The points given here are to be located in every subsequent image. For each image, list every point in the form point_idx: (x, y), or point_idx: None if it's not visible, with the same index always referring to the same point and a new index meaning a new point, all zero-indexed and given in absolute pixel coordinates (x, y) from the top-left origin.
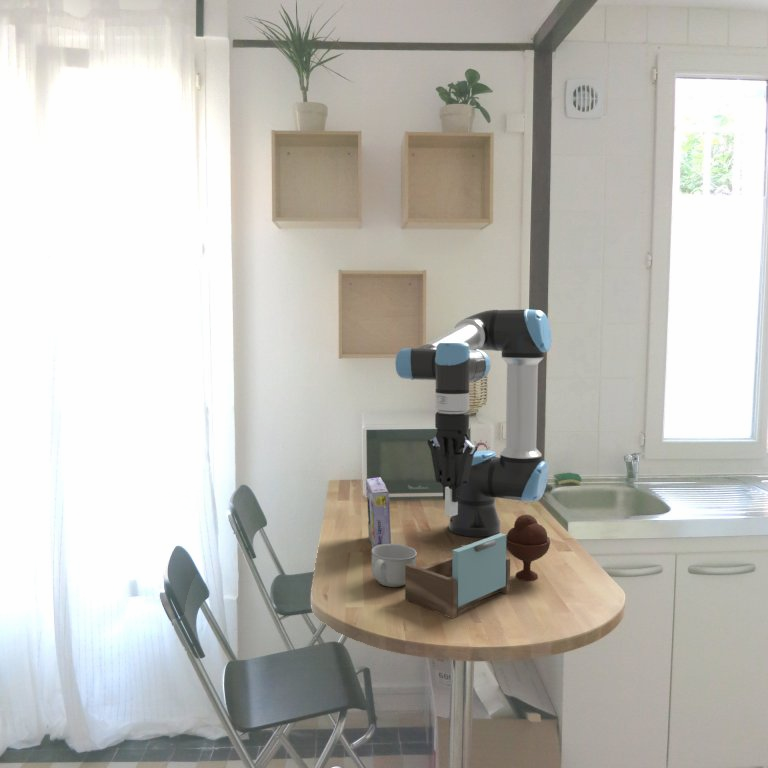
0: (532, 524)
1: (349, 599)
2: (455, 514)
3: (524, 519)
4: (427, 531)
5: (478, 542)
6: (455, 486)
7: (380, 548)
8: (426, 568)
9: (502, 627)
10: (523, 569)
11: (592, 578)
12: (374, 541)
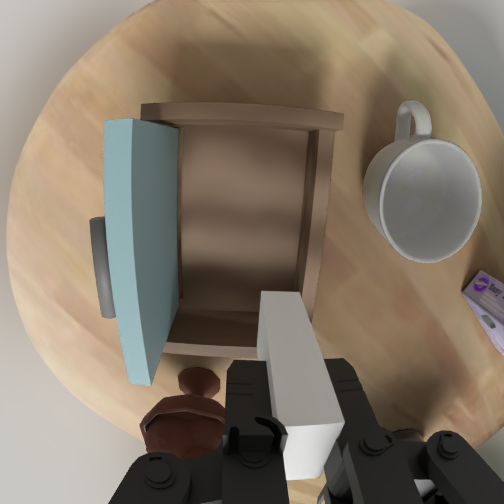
0: None
1: (402, 58)
2: (258, 335)
3: None
4: (445, 407)
5: (124, 267)
6: (225, 458)
7: (472, 210)
8: (316, 189)
9: (77, 158)
10: (201, 389)
11: (127, 421)
12: (500, 282)
